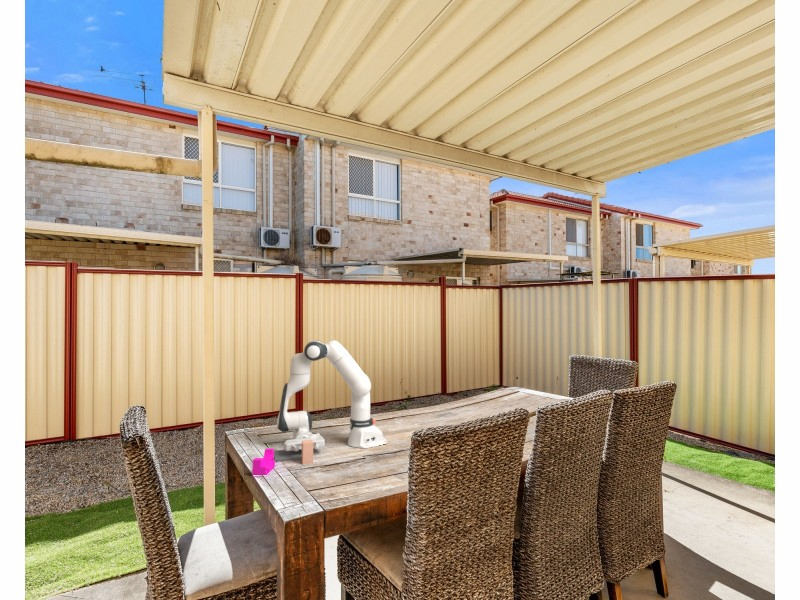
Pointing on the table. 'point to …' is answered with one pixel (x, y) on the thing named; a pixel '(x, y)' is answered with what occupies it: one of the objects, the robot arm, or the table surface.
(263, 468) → the toy block
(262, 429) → the table surface
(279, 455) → the mat
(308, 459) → the pillar block
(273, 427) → the table surface
